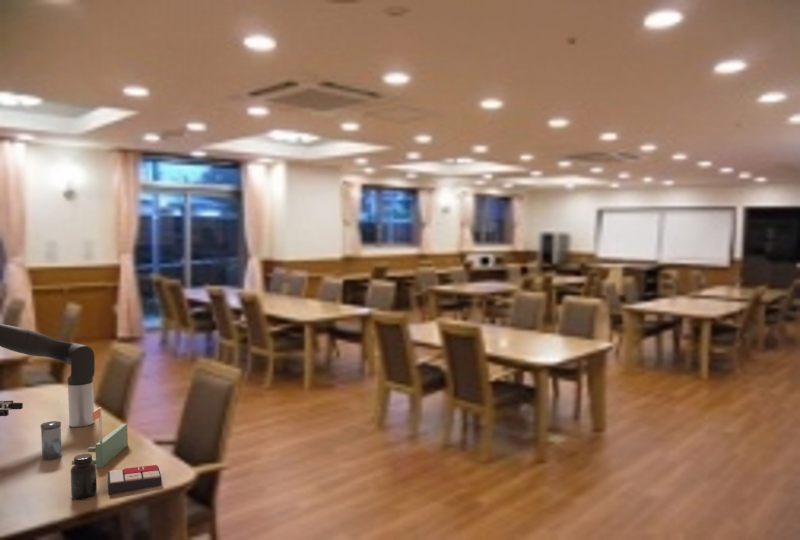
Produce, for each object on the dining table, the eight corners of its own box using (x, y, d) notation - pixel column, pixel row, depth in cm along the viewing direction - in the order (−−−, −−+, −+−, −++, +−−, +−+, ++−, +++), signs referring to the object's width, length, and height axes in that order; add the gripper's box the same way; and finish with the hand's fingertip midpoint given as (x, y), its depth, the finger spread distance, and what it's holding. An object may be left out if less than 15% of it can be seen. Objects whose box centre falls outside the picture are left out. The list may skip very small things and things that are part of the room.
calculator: (161, 475, 191) (108, 481, 184) (161, 488, 191) (108, 495, 184) (158, 463, 201) (107, 469, 194) (157, 476, 201) (107, 482, 194)
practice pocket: (94, 445, 227) (93, 392, 226) (127, 444, 228) (126, 392, 226) (61, 471, 202) (59, 412, 201) (98, 471, 203) (96, 411, 201)
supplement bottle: (90, 488, 189) (89, 450, 188) (101, 494, 184) (99, 455, 184) (67, 496, 184) (66, 457, 183) (77, 502, 179) (76, 462, 178)
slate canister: (47, 454, 218) (46, 421, 218) (65, 453, 219) (64, 420, 218) (38, 460, 212) (36, 426, 211) (56, 460, 213) (55, 426, 212)
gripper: (-47, 404, 205) (3, 404, 206) (-20, 393, 220) (26, 393, 221) (-47, 426, 206) (3, 425, 207) (-20, 414, 220) (26, 414, 221)
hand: (15, 409), depth 214 cm, fingers open, 8 cm apart
